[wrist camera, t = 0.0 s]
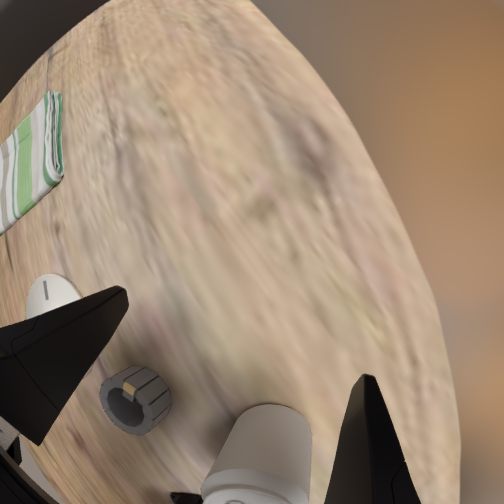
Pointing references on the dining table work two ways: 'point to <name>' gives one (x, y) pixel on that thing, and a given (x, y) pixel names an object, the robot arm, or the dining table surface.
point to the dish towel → (31, 160)
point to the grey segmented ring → (127, 391)
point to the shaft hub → (51, 296)
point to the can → (263, 460)
